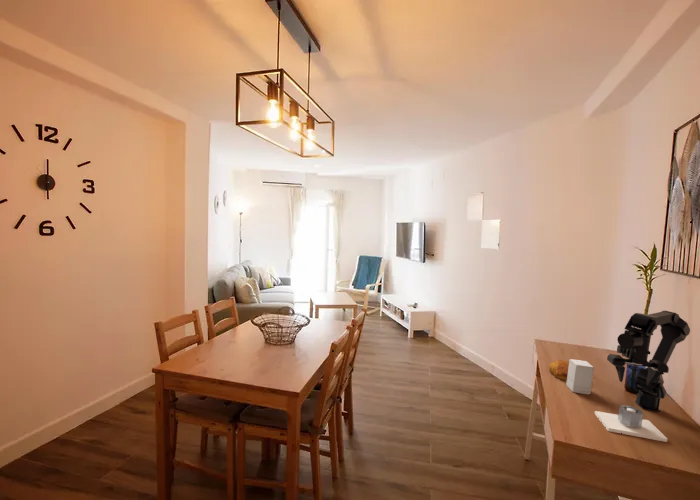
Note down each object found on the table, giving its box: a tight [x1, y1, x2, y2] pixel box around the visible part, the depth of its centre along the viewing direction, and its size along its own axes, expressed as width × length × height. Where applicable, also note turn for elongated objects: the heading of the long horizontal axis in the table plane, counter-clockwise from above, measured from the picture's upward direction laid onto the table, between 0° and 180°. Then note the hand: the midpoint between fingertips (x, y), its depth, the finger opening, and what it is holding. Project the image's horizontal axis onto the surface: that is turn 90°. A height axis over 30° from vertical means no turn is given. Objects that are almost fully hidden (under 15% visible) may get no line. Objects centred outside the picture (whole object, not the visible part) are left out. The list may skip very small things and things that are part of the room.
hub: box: [617, 404, 644, 428], centre depth 132 cm, size 6×6×5 cm
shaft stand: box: [594, 408, 668, 443], centre depth 132 cm, size 18×12×7 cm, turn 76°
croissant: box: [548, 359, 569, 382], centre depth 174 cm, size 14×16×8 cm
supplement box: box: [565, 358, 595, 395], centre depth 160 cm, size 7×7×13 cm
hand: (633, 383), depth 142 cm, fingers open, 9 cm apart
